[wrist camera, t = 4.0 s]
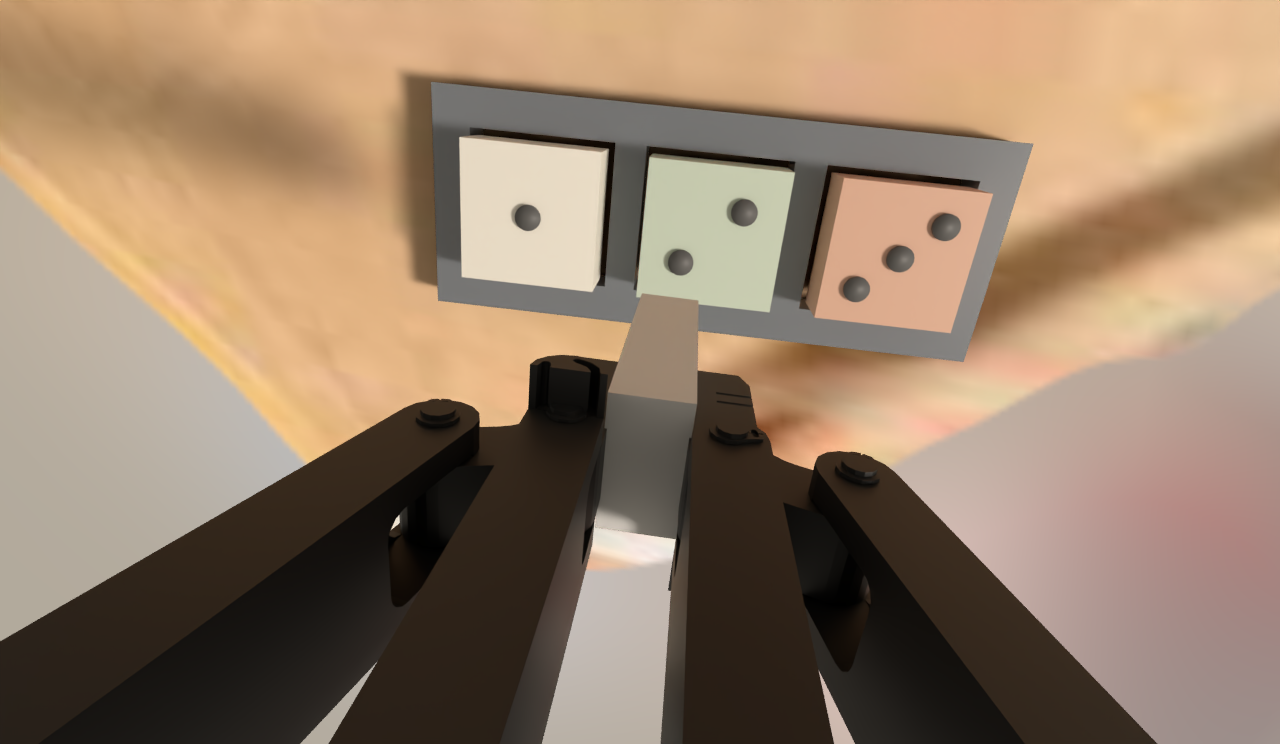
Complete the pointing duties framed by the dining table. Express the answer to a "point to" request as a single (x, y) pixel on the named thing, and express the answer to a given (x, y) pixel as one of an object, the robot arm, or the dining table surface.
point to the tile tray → (728, 134)
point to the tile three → (895, 251)
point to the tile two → (713, 230)
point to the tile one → (532, 211)
